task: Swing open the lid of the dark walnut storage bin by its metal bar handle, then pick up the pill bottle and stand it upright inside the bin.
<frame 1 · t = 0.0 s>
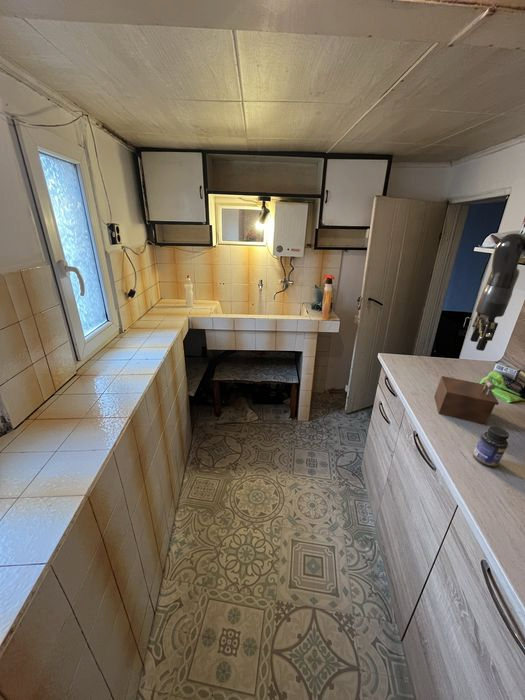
hand: (476, 345, 98), 26 cm above the counter, tool pointing down, fingers open, 8 cm apart
bin: (458, 409, 106), on the counter
bin lid: (469, 384, 102), point 11 cm above the counter, hinge at 0.0°
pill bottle: (484, 460, 84), on the counter
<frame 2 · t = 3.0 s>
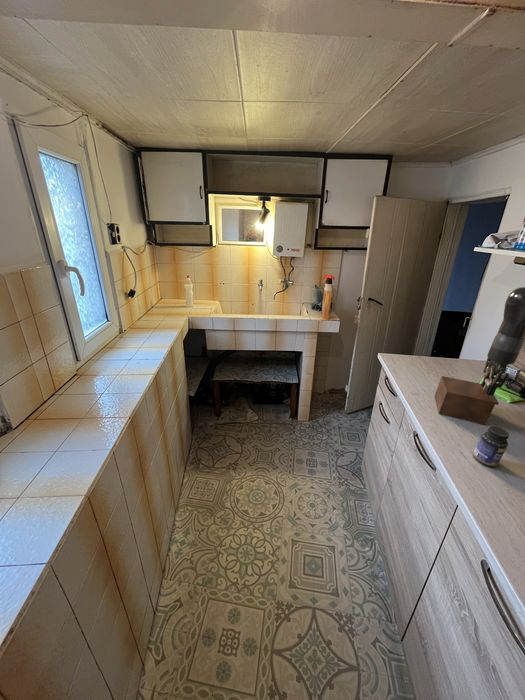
hand: (486, 390, 100), 10 cm above the counter, tool pointing down, fingers closed on bin lid, 5 cm apart
bin lid: (469, 384, 102), point 11 cm above the counter, hinge at 0.0°, touching gripper
everything else where it was.
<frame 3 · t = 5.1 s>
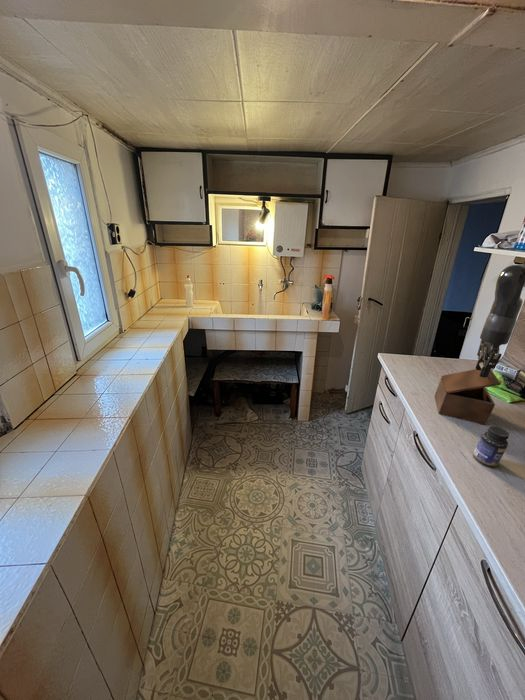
hand: (480, 372, 99), 17 cm above the counter, tool pointing down, fingers closed on bin lid, 5 cm apart
bin lid: (466, 374, 101), point 15 cm above the counter, hinge at 28.9°, touching gripper
everything else where it was.
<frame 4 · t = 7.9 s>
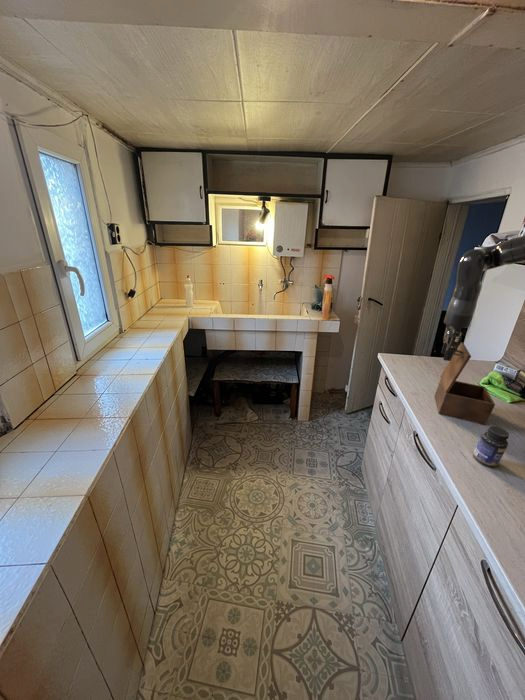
hand: (445, 356, 101), 20 cm above the counter, tool pointing down, fingers closed on bin lid, 5 cm apart
bin lid: (448, 365, 102), point 17 cm above the counter, hinge at 80.0°, touching gripper
everything else where it was.
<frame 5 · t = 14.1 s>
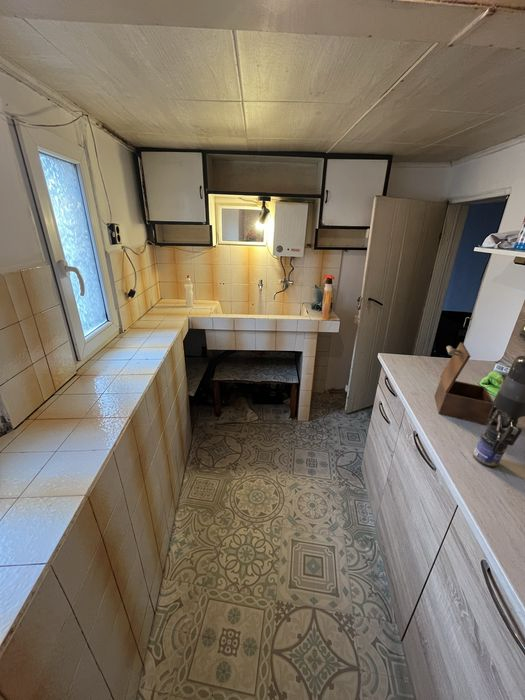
hand: (492, 442, 81), 7 cm above the counter, tool pointing down, fingers closed on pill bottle, 6 cm apart
bin lid: (447, 365, 102), point 17 cm above the counter, hinge at 80.8°
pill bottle: (484, 460, 84), on the counter, touching gripper
when the fingers open (7 cm above the counter, at t = 23.0 s): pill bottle stays where it is, resting on bin.
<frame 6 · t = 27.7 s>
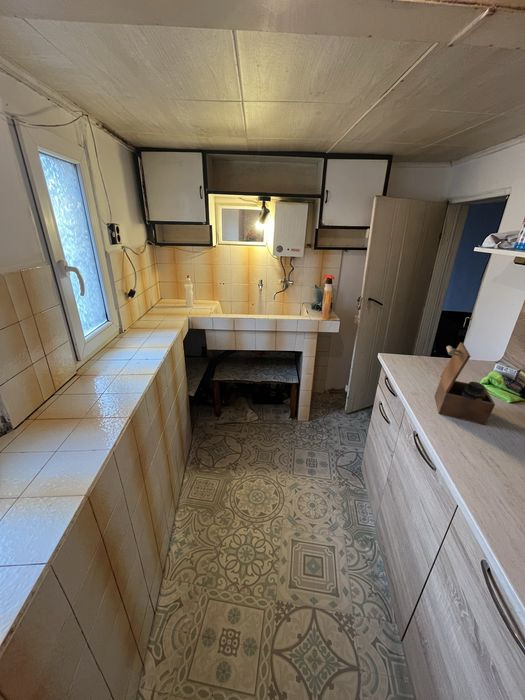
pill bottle: (466, 410, 105), point 1 cm above the counter, touching bin
everything else where it was.
at the end: bin lid at +81° (first picture: +0°); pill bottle inside the target area in the bin (2.4 cm from its centre), point 0.6 cm above the bin's base; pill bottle tilted 0° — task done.
